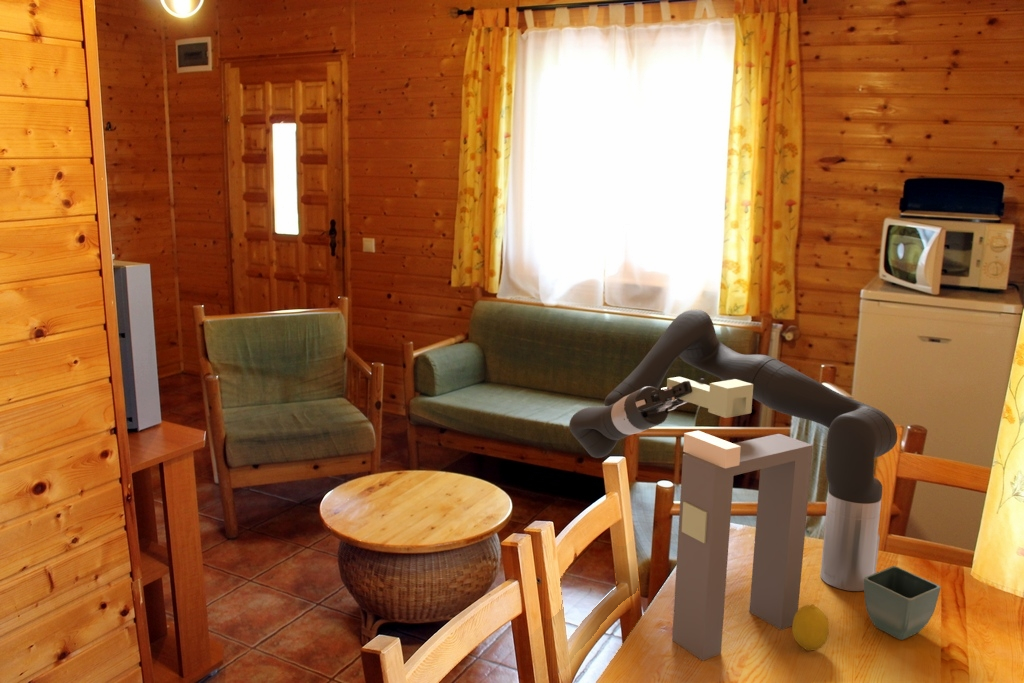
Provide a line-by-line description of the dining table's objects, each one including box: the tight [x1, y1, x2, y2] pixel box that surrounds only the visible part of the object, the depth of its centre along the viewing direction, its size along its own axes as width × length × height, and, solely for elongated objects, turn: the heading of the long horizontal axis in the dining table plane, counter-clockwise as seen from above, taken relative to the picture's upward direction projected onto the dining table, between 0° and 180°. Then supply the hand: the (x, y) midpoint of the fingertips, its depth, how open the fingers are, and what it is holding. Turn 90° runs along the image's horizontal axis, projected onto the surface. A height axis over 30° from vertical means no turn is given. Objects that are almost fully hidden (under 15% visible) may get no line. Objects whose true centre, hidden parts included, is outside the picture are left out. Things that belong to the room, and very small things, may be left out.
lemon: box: [791, 604, 830, 652], centre depth 135 cm, size 6×6×8 cm
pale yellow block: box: [666, 376, 753, 419], centre depth 146 cm, size 6×16×5 cm, turn 32°
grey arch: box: [671, 433, 814, 662], centre depth 138 cm, size 22×7×32 cm, turn 122°
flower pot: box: [863, 565, 942, 641], centre depth 141 cm, size 9×9×9 cm
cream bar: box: [682, 430, 741, 468], centre depth 130 cm, size 3×9×3 cm, turn 32°
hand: (696, 385), depth 147 cm, fingers closed on pale yellow block, 3 cm apart
